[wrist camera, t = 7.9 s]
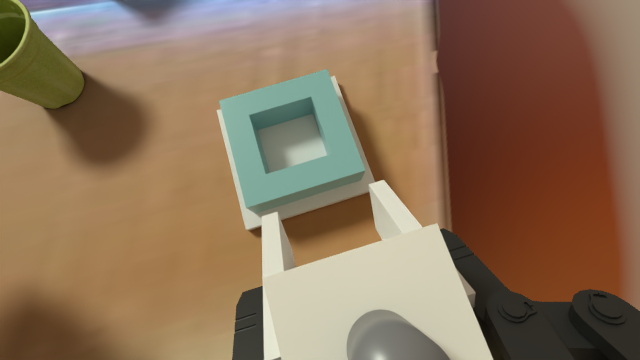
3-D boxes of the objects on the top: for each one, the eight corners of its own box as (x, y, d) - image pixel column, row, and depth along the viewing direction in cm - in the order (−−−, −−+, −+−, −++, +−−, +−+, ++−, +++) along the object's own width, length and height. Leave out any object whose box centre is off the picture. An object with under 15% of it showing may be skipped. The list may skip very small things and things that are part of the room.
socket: (375, 190, 30) (383, 179, 26) (248, 230, 30) (235, 226, 25) (334, 80, 34) (335, 55, 30) (220, 114, 33) (203, 93, 29)
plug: (396, 319, 16) (619, 516, 4) (323, 343, 16) (309, 635, 4) (371, 244, 18) (478, 210, 5) (302, 266, 17) (236, 285, 5)
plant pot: (113, 63, 36) (46, 3, 27) (76, 130, 33) (-8, 88, 25) (47, 47, 36) (-37, -16, 28) (7, 111, 34) (-96, 65, 26)
